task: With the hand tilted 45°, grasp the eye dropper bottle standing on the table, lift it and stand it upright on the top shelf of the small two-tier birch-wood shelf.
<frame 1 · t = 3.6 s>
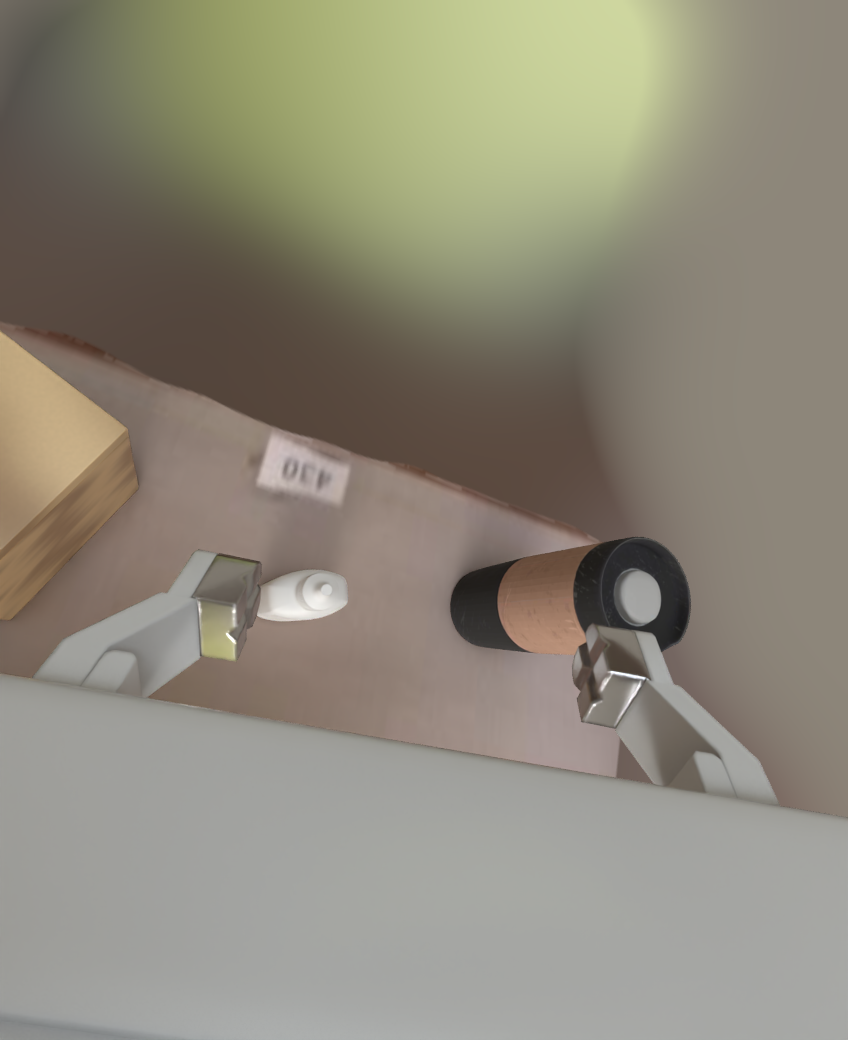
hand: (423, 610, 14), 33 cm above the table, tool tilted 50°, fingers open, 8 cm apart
eye dropper bottle: (288, 599, 46), on the table
travel mug: (482, 607, 53), on the table
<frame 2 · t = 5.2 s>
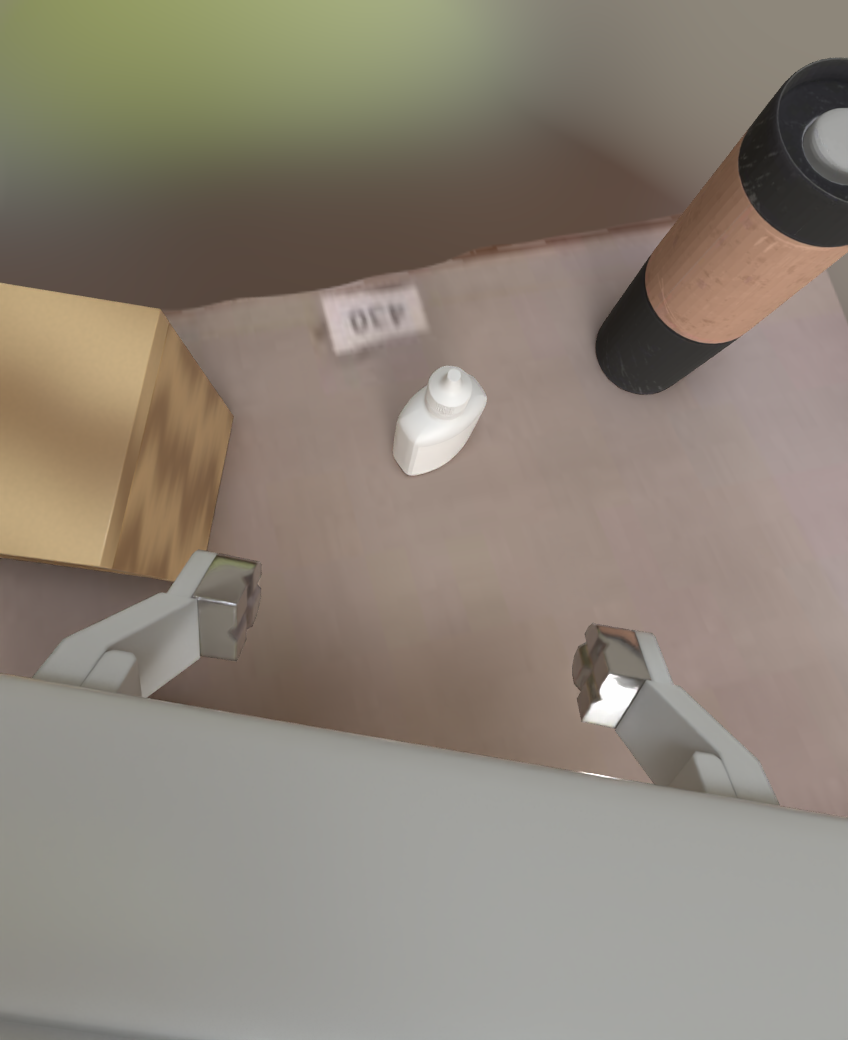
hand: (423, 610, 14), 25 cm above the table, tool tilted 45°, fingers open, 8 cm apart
eye dropper bottle: (430, 446, 41), on the table
shelf: (112, 483, 38), on the table
travel mug: (638, 352, 44), on the table
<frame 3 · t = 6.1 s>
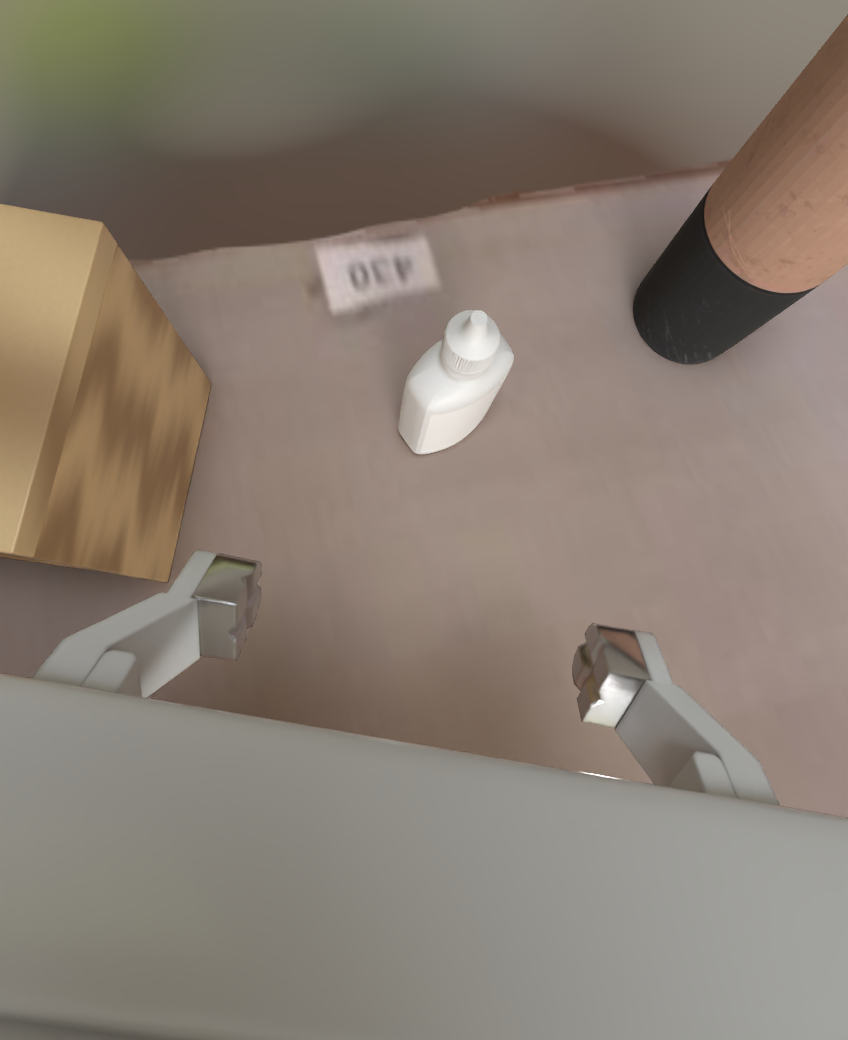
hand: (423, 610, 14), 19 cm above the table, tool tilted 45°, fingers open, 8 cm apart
eye dropper bottle: (442, 421, 35), on the table
shelf: (66, 461, 32), on the table
travel mug: (682, 316, 38), on the table
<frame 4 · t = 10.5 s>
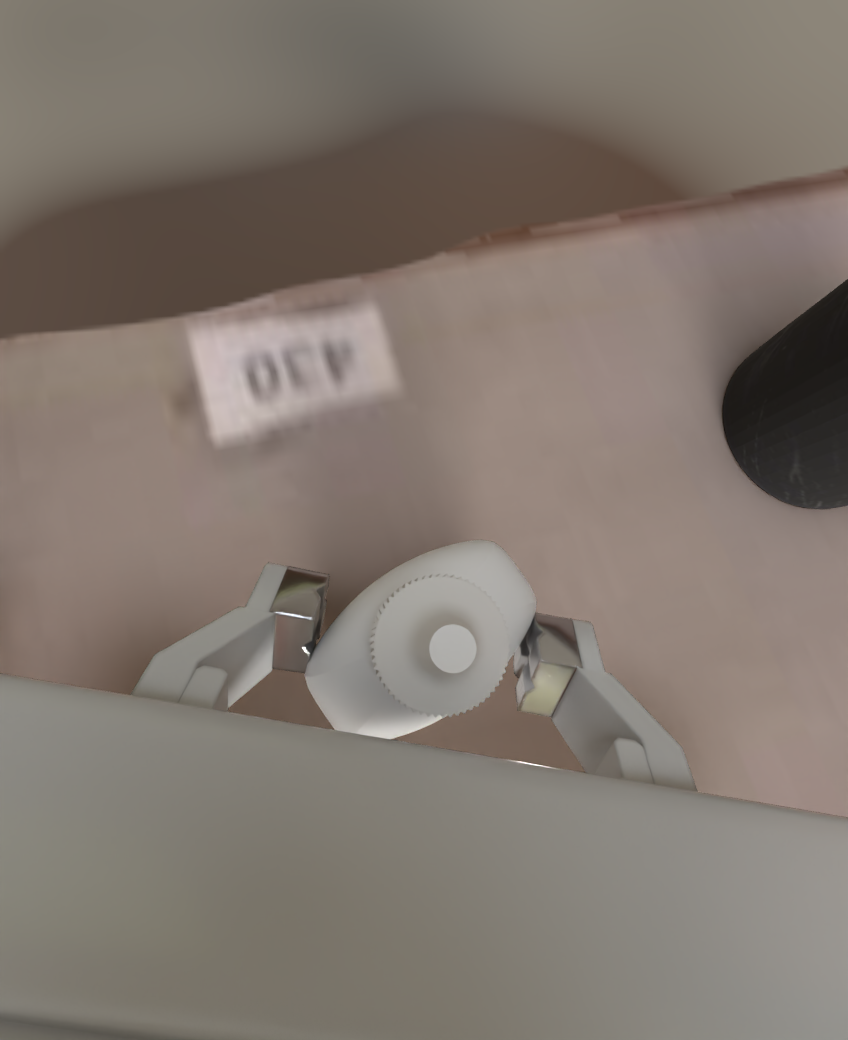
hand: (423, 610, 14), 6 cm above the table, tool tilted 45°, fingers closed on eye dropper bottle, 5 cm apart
eye dropper bottle: (405, 631, 20), on the table, touching gripper
travel mug: (801, 425, 23), on the table
when the fingers open (20 cm above the table, at t = 19.9 s): eye dropper bottle stays where it is, resting on shelf.
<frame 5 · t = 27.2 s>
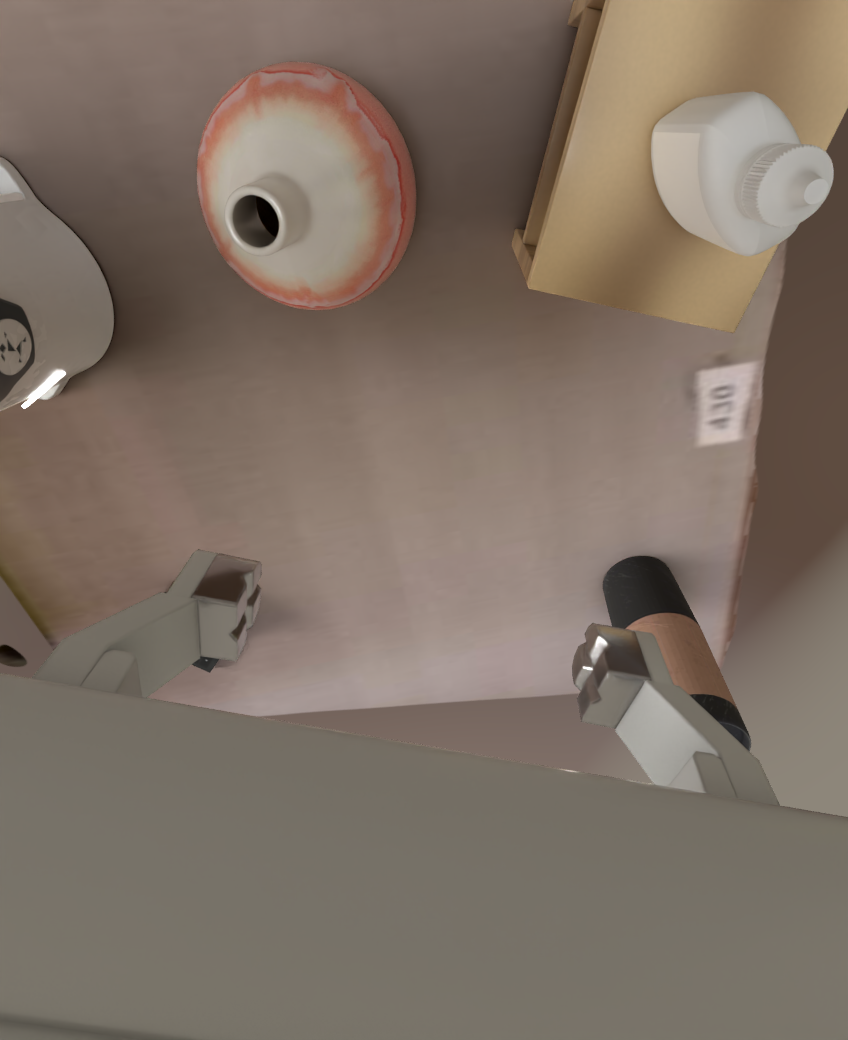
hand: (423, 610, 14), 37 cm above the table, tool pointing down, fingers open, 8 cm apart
eye dropper bottle: (689, 168, 28), point 14 cm above the table, touching shelf
shelf: (623, 155, 39), on the table
vase: (329, 189, 41), on the table
travel mug: (636, 580, 61), on the table
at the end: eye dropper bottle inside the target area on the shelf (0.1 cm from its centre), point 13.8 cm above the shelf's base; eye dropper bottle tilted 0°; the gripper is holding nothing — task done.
